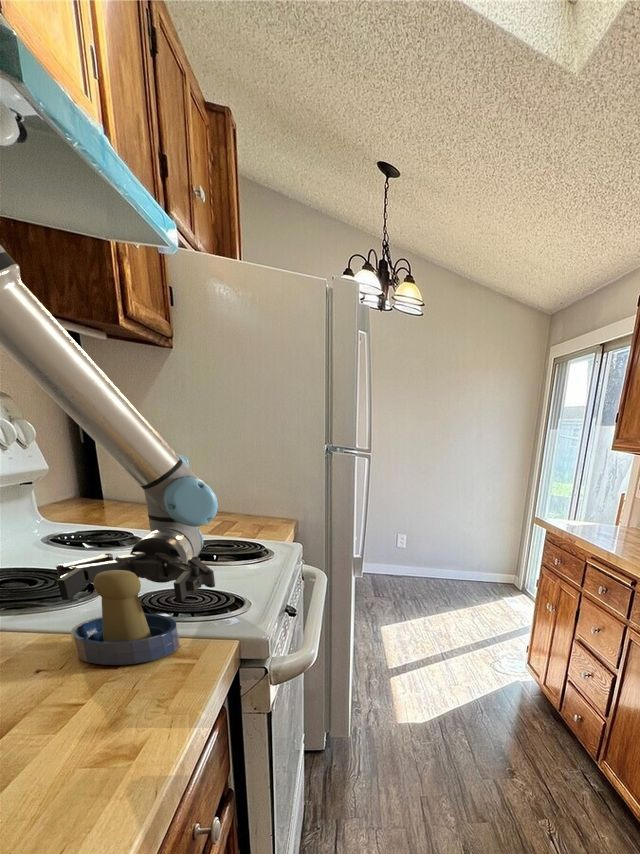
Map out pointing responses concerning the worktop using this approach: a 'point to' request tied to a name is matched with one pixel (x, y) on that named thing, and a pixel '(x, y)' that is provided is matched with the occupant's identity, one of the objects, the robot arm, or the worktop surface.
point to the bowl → (125, 642)
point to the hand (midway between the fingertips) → (121, 591)
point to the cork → (121, 606)
